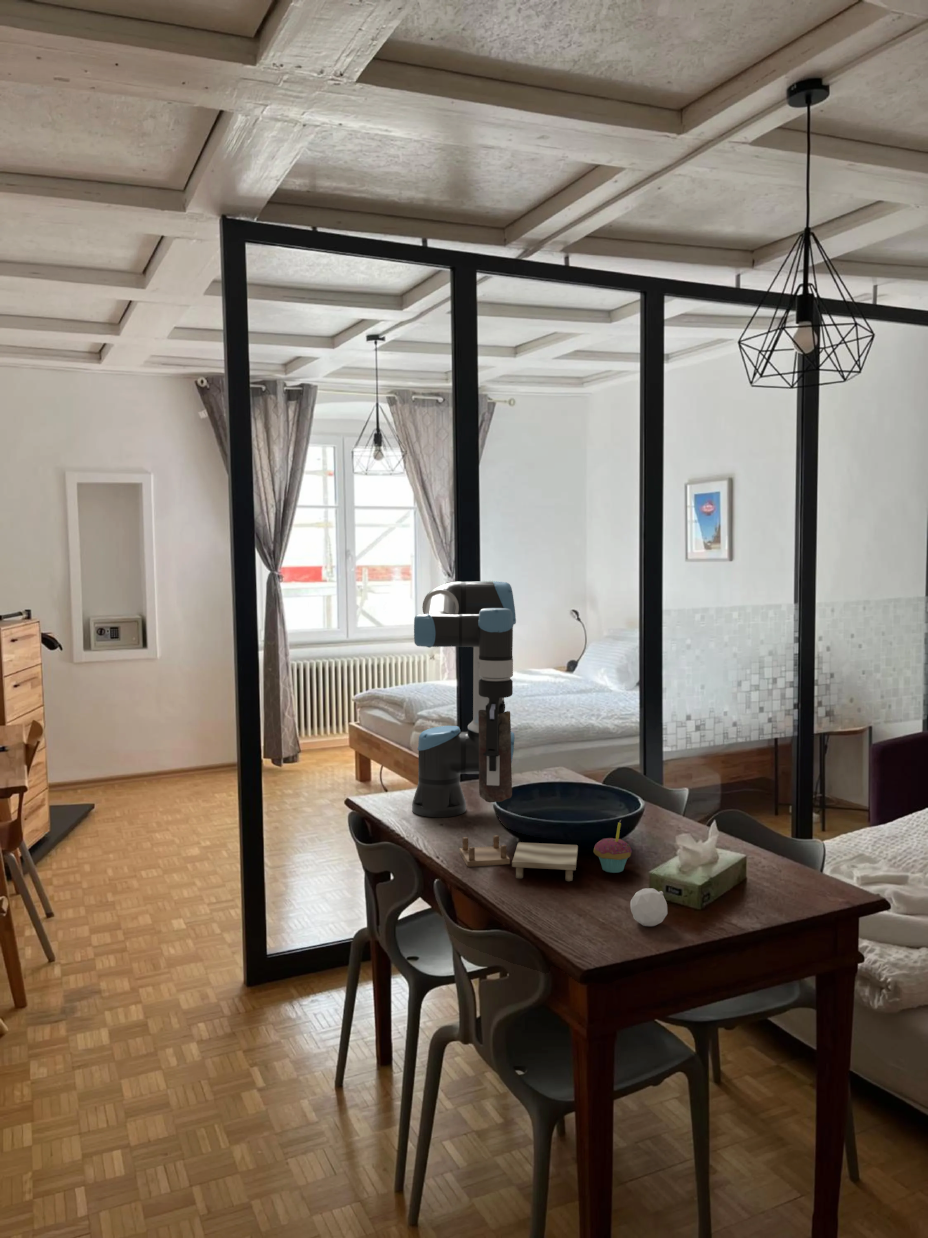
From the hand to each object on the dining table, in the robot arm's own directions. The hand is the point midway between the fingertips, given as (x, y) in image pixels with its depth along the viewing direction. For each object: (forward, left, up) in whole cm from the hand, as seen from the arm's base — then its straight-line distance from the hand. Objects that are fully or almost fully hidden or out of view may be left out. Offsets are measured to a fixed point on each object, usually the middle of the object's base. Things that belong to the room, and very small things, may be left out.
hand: (495, 780), depth 210 cm
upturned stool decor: (-12, -4, -22) cm, 25 cm away
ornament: (+22, +33, -22) cm, 45 cm away
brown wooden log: (0, 0, -4) cm, 4 cm away
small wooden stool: (-6, +11, -22) cm, 25 cm away
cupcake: (-9, +26, -22) cm, 35 cm away
